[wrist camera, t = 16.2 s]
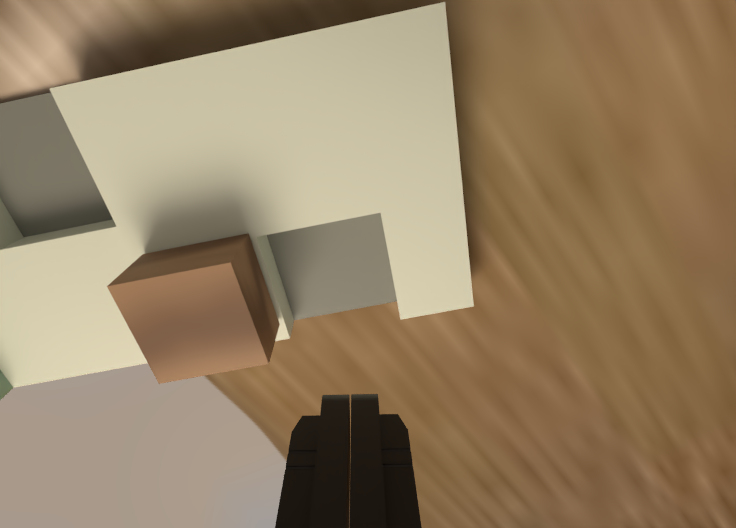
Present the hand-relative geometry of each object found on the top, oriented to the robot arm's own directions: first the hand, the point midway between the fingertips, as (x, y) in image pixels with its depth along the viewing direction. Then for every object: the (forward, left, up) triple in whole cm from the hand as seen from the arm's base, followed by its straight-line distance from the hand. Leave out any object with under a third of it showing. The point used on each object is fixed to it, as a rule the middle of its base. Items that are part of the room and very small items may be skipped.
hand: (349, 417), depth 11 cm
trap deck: (-2, -9, -15) cm, 18 cm away
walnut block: (+1, -8, -13) cm, 15 cm away
